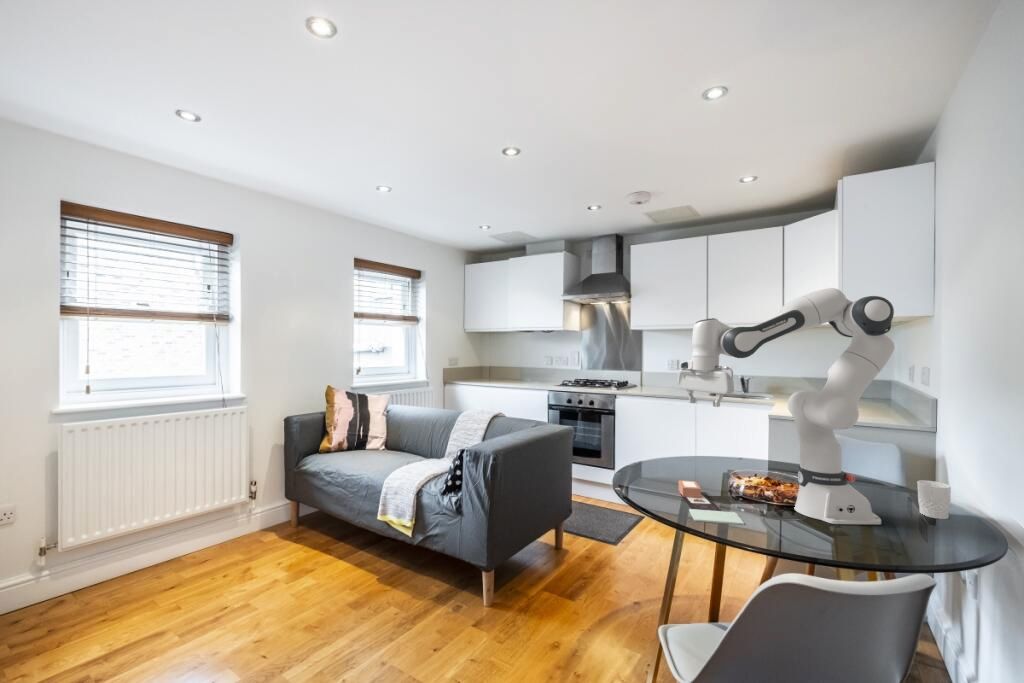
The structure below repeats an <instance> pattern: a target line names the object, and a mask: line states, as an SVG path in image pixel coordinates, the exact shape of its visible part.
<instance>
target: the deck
mask: <svg viewBox="0 0 1024 683" xmlns="http://www.w3.org/2000/svg"><path fill="white" fill-rule="evenodd" d="M679 491H680V492H679ZM678 492H679V494H680V493H681V494H682V496H683V497H692V498H701V495H702V487H701V486H700V485H699V483H697V481H696V480H695V481H694V480H681V479H680V480H678Z"/></svg>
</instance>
